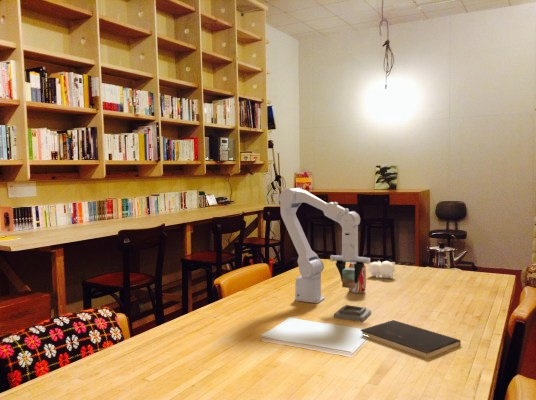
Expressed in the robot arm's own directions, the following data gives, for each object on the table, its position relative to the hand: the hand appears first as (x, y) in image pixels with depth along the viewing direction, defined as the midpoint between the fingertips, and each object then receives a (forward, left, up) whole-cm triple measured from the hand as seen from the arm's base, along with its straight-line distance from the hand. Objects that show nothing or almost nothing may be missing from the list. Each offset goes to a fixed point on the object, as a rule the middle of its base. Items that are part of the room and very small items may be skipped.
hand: (349, 281), depth 174 cm
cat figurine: (-1, +53, -9) cm, 53 cm away
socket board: (+4, -11, -9) cm, 15 cm away
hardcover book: (+26, -27, -10) cm, 39 cm away
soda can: (-4, +21, -9) cm, 24 cm away
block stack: (0, 0, -2) cm, 2 cm away
